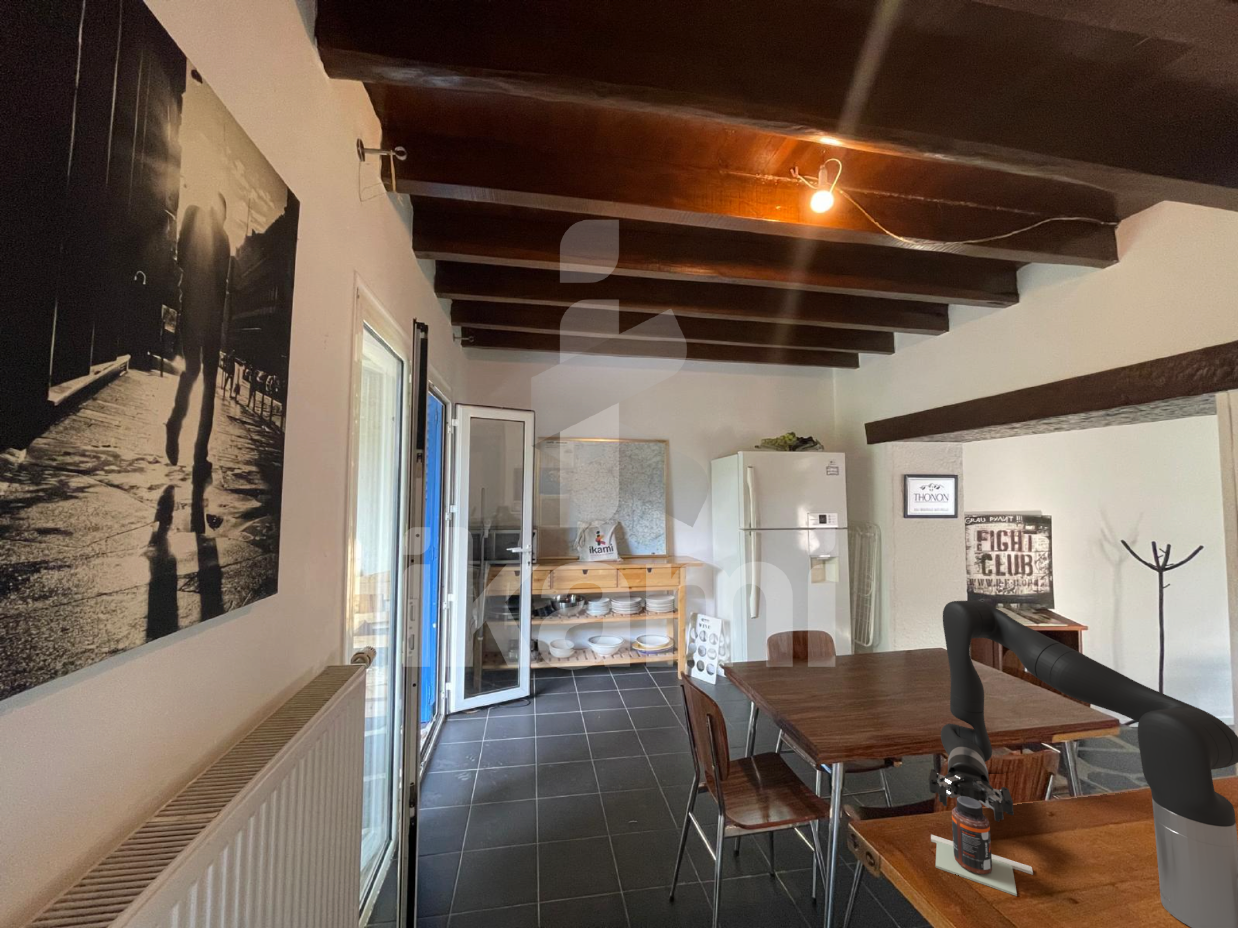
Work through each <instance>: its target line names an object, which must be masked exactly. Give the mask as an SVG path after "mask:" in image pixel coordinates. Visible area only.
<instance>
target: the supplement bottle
mask: <svg viewBox="0 0 1238 928" xmlns="http://www.w3.org/2000/svg"><path fill="white" fill-rule="evenodd" d="M951 828H952V829H951V830H952V841H953V847H954V857H955V860H956V861H957V862H958V863H959V864H960V865H961V866H962V867H964V868H965V869H967V870H969V871H971V872H974V873H978V874H989V873H991V871H992V855H991V854H992V843H991V827H990V821H989V819H988V818H987V817H986V815H985V814H984V811H983V804H982V803H981V802H979V801H977V800H975V799H973V798H970V797H965V796H959V797H956V806H955V807H953V808H952V809H951Z"/></svg>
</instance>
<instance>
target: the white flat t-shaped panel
mask: <svg viewBox="0 0 1238 928" xmlns="http://www.w3.org/2000/svg"><path fill="white" fill-rule="evenodd" d="M930 842H931V843H935V844H936V848H935V850H936V851H935V868H936V869H939V870H941V871H944V872H947V873H949V874H953V875H955V874H956V876H958V875H959V876H958V877H961V878H965V879H967V880H970V881H972V882H975V883H979V884H981V885H984V886H986V887H987V886H988V887H990V888H993V889H996V890H998V891H1002V892H1004V893H1007V894H1009V895H1012V896H1015V897H1017V896H1018V895H1017V894H1018V893H1017V888H1016V881H1015V875H1014V870H1016V871H1019V872H1023V873H1026V874H1029V875H1034V872H1033V867H1032V866H1031V865H1028V864H1025V863H1024V864H1023V863H1021V862H1019V861H1018V862H1017V861H1016V860H1015V861H1014V860H1011V859H1009V858H1006V857H1002V856H1000V855H997V854H993V853H991V855H992V871H991V873H989V874H978V873H974V872H971V871H969V870H967V869H965V868H964V867H962V866H961V865H960V864H959V863H958V862H957V861H956V860H955V857H954V847H953V840H949V839H946V838H943V837H940V836H937V835H934V834H930Z"/></svg>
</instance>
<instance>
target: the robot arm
mask: <svg viewBox="0 0 1238 928" xmlns="http://www.w3.org/2000/svg"><path fill="white" fill-rule="evenodd" d="M942 627H943V632H944V633H943V634H944V639H945V647H946V652H947V657H948V667H949V672H950V676H949V677H950V689H949V690H950V694H949V696H950V697H949V698H950V699H949V701H950V703H949V706H950V707H949V709H950V713H951V715H952V716H954V717H955V718H956V719H959V721H962V722H964V723H966V724H968V725H970V726H971V727H972V728H970V727H967V726H963V725H959V724H954V723H947V724H944V725H943V727H942V728H941V730H940V740H941V743H942V747H943V748H944V750H945V753H946V754H947V755H948V758H947V773H946V774H945V775H942V774H940V773H939V772H938V770H937V769H935V768H931V769H930V773H929V777H928V790H929V793H931V794H936V793H937V794H938V801H939V803H942V806H944V807H948V804H947V803H948V798H951V799H954V798H958V797H960V796H965V797H970V798H973V799H975V800H977V801H978V802H980V803H981V805H982V806H985V808H988V809H991V810H992V811H993V814H994V815H993V816H994V821H995V822H1000V820H1002V821H1003V820H1004V812H1005V813H1006V814H1007V815H1010V816H1014V813H1015V812H1014V801H1013V798H1012V796H1011V792H1010V789H1009V788H1007V787H1004V786H1001V789H997V788H993V786H992V785H991V784H990V779H989V778H990V777H989V771H988V767H987V765H986V762H988V761H989V760H990V759H991V758H992V756H993V755H992V754H993V749H992V748H993V747H992V743H991V740H990V737H989V734H988V732H987V727H986V721H985V690H984V685H983V682H982V679H981V678H980V675H979V673H978V672H977V669H976V668H975V666H974V663H973V660H972V657H971V644H972V643H971V642H972V639H987V640H990V641H993V642H995V643H997V644H999V645H1001V646H1003V647H1005V648H1006V649H1008V650H1010V651H1011V652H1013V653H1014V655H1016V657H1017V658H1018V660H1019V661H1020V663H1021V664H1022V666H1024V668H1025V669H1026V670H1027V671H1028V672H1029V673H1030V674H1031V675H1032V676H1034V677H1035V678H1036V679H1038V680H1040V681H1042V683H1045V684H1046V685H1048V686H1050V687H1051V688H1053V689H1055V690H1057V691H1058V692H1059V693H1062V694H1064V695H1066V696H1068V697H1071V698H1073V699H1076V700H1079V701H1080V702H1083V703H1086V704H1089V705H1093V706H1095V707H1099V708H1102V709H1105V710H1107V711H1111V712H1114V713H1117V714H1119V715H1122V716H1124V717H1127V718H1129V719H1131V720H1133V721H1134V722H1136V723H1138V725H1137V740H1138V748H1139V756H1140V762H1141V766H1142V767H1141V768H1142V773H1143V776H1144V779H1145V782H1146V783H1147V784H1148V787H1149V788H1150V792H1151V800H1152V801H1151V802H1152V813H1153V825H1154V837H1155V847H1156V848H1155V849H1156V858H1157V860H1156V861H1157V870H1158V871H1157V872H1158V877H1159V878H1158V880H1159V881H1158V882H1159V887H1158V888H1159V893H1160V895H1159V896H1160V901H1161V905H1162V906H1163V907H1164V909H1165V910H1166V911H1167V912H1168V913H1169V914H1170V915H1171V916H1172V917H1174V918H1175V919H1177V921H1178V920H1179V922H1181V923H1183V924H1184V925H1186V926H1188V927H1190V928H1238V832H1237V831H1238V830H1237V823H1236V821H1237V820H1236V811H1235V807H1234V806H1233V804H1232V803H1231V801H1230V800H1229V799H1228V798H1227V797H1225V796H1224V795H1222V794H1220V793H1218V792H1216V791H1215V787H1214V781H1213V775H1212V773H1213V772H1212V770H1217V769H1218V770H1219V769H1223V768H1228V767H1231V766H1234V765H1236V764H1238V735H1237V734H1236V732H1235V731H1234V730H1233V729H1232V728H1231V727H1230V726H1229V725H1228V724H1226V723H1225V722H1224V721H1223V720H1221V719H1219V718H1218V717H1216V716H1215V715H1213V714H1211V713H1210V712H1207V711H1205V710H1203V709H1201V708H1199V707H1196V706H1194V705H1191V704H1189V703H1187V702H1184V701H1182V700H1179V699H1177V698H1175V697H1172V696H1169V695H1167V694H1165V693H1163V692H1160V691H1158V690H1155V689H1152V688H1151V687H1149V686H1147V685H1144V684H1142V683H1141V682H1138V681H1135V680H1133V679H1132V678H1130V677H1128V676H1126V675H1124V674H1122V673H1120V672H1119V671H1117V670H1115V669H1113V668H1110V667H1108V666H1107V665H1104V664H1103V663H1100V662H1098V661H1097V660H1094V659H1093V658H1091V657H1089V656H1087V655H1086V654H1083V653H1082V652H1080V651H1077V650H1075V649H1074V648H1072V647H1070V646H1069V645H1068V646H1067V645H1066V644H1064V643H1062V642H1060V641H1058V640H1055V639H1053V638H1051V637H1049V636H1047V635H1045V634H1044V633H1041V632H1039V631H1038V630H1035V629H1032V628H1031V627H1028V626H1027V625H1024V624H1023V623H1021V622H1019V621H1017V620H1016V619H1014V618H1013V617H1011V616H1010V615H1008V614H1006V613H1004V612H1003V611H1001V610H999V609H998V608H996V607H995V606H993V605H992V604H990V603H987V602H986V601H983V600H978V599H977V600H976V599H975V600H974V599H973V600H953V601H950V602H947V604H945V606H944V608H943V611H942Z"/></svg>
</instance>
